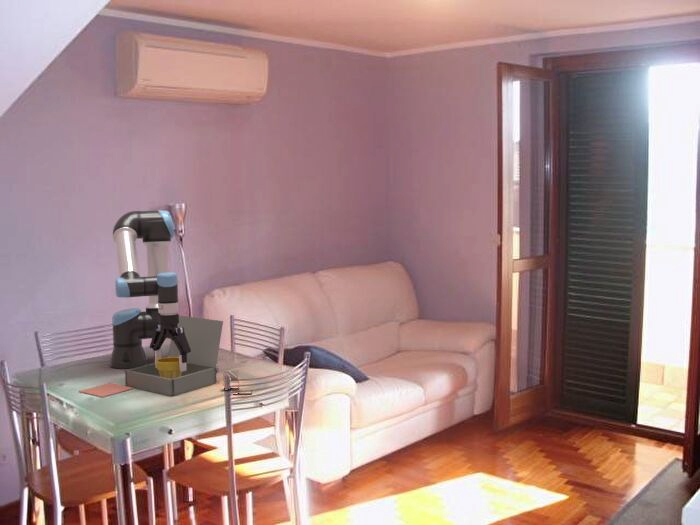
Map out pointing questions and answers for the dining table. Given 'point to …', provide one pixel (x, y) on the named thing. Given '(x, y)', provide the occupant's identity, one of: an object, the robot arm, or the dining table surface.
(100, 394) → the mat
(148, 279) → the robot arm
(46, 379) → the dining table surface
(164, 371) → the plant pot
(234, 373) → the architectural model
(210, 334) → the case
